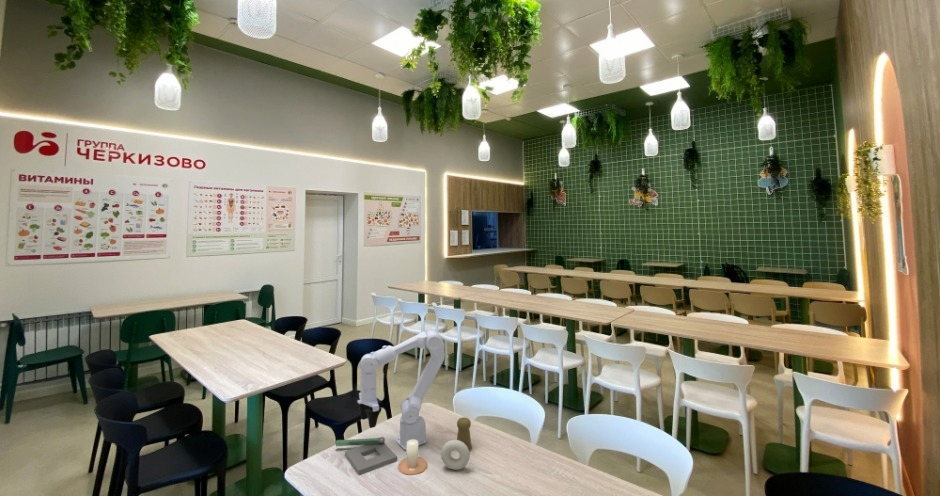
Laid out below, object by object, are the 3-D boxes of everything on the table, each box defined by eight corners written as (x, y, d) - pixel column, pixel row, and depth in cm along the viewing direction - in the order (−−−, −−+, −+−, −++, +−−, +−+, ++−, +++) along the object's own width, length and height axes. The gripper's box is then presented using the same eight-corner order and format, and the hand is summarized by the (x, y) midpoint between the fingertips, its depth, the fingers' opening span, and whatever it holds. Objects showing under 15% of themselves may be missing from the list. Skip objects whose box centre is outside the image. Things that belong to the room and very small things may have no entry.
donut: (470, 467, 133) (470, 438, 133) (468, 473, 130) (469, 444, 129) (441, 464, 134) (442, 436, 134) (439, 470, 131) (440, 441, 131)
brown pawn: (469, 453, 142) (470, 423, 141) (454, 451, 143) (454, 422, 142) (473, 444, 148) (473, 416, 147) (457, 442, 149) (457, 414, 148)
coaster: (418, 454, 141) (418, 453, 141) (432, 467, 132) (432, 466, 132) (393, 463, 135) (393, 462, 135) (406, 478, 127) (406, 477, 127)
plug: (415, 460, 136) (415, 438, 136) (420, 465, 133) (420, 443, 133) (404, 463, 134) (404, 441, 134) (409, 469, 131) (409, 446, 130)
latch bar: (384, 441, 147) (384, 436, 146) (384, 444, 144) (384, 440, 144) (336, 443, 144) (336, 439, 144) (335, 447, 142) (335, 442, 142)
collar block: (381, 443, 148) (381, 439, 148) (397, 460, 137) (397, 456, 137) (344, 455, 140) (344, 451, 139) (358, 475, 128) (358, 470, 128)
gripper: (351, 383, 147) (351, 418, 148) (365, 396, 136) (365, 434, 136) (368, 379, 152) (369, 413, 152) (384, 391, 140) (384, 428, 140)
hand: (368, 422), depth 144 cm, fingers open, 7 cm apart
